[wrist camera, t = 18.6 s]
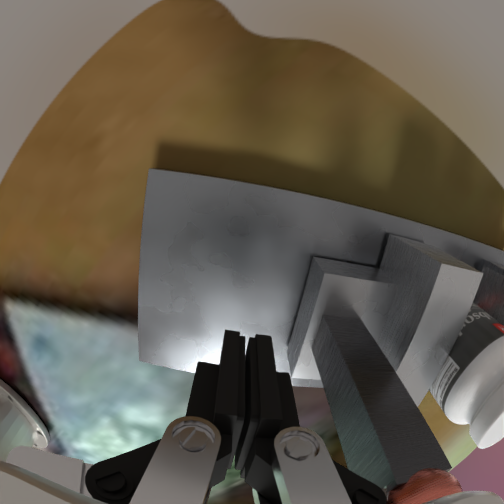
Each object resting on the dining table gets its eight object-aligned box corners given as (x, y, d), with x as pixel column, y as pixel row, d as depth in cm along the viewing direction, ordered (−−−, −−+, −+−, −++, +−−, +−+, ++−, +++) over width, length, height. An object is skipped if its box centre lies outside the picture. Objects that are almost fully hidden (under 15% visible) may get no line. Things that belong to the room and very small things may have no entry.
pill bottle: (466, 279, 16) (565, 350, 6) (451, 346, 17) (521, 428, 8) (402, 291, 16) (505, 394, 6) (390, 364, 17) (453, 471, 8)
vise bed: (144, 350, 18) (113, 413, 12) (156, 168, 15) (103, 171, 9) (450, 374, 20) (483, 416, 14) (503, 250, 16) (555, 276, 10)
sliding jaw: (278, 376, 17) (305, 587, 4) (322, 218, 14) (556, 434, 1) (374, 380, 17) (449, 541, 4) (429, 244, 14) (614, 368, 2)
